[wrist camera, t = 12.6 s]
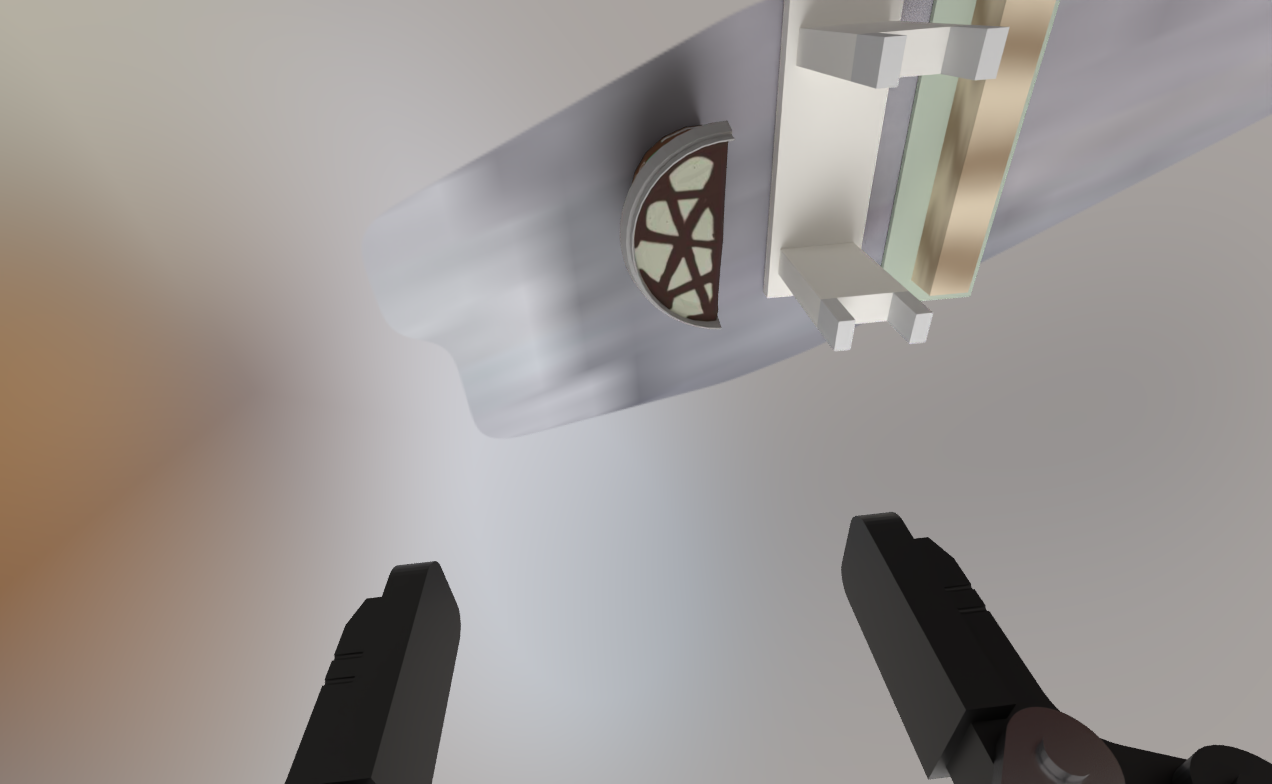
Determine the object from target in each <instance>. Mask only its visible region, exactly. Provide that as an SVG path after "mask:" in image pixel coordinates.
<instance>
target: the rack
mask: <svg viewBox="0 0 1272 784" xmlns="http://www.w3.org/2000/svg"><path fill="white" fill-rule="evenodd" d="M903 3H904V0H784V10H783V24H782V38H781V52H780V66H779V79H778V93H777V107H776V121H775V135H774V149H773V163H772V177H771V191H770V205H769V219H768V233H767V247H766V261H765V275H764V289H763V292H764V294H765V295H766V297H767V298H775V297H786V296H794V297H795V298H796V299H797V301H798V302H799V304H800V305H801V306H802V308H803V309H804V310H805V312H806V313H807V315H808V316H809V317H810V319H811V320H812V322H813V323H814V324H815V326H816V327H817V328H818V330H819V331H820V333H821V334H822V335H823V337H824V338H825V339H826V341H827V342H828V344H829V345H830V346H831V348H832V349H833V351H841V350H850V349H851V343H852V338H853V332H854V327H855V324H860V323H870V322H881V321H888V323H889V324H890V325H891V326H892V327H893V328H894V329H895V330H896V331H897V332H898V333H899V334H900V335H901V336H902V337H903V338H904V339H905V340H906V341H907V342H908V343H909V344H913V343H924V342H926V338H927V334H928V331H929V327H930V323H931V319H932V315H933V312H932V311H931V310H930V309H928V308H927V307H926V306H925V305H924V304H923V303H922V302H921V301H919V300H918V299H917V298H916V297H915V296H914V295H913V294H911V293H910V292H909V291H908V290H907V289H906V288H905V287H904V286H902V285H901V284H900V283H899V282H898V281H897V280H896V279H894V278H893V277H892V276H891V275H890V274H889V273H888V272H886V271H885V270H884V269H883V268H882V267H881V266H880V265H879V264H877V263H876V262H875V261H874V260H873V259H872V258H871V257H869V256H868V255H867V254H866V253H865V252H864V251H863V250H861V246H862V241H863V235H864V229H865V223H866V217H867V212H868V206H869V200H870V194H871V188H872V183H873V177H874V171H875V165H876V159H877V154H878V148H879V142H880V136H881V130H882V125H883V119H884V113H885V107H886V101H887V96H888V90H889V88H891V87H898V83H899V77H909V76H921V75H933V74H944V75H949V76H954V77H959V78H964V79H970V80H986V79H996V76H997V72H998V69H999V65H1000V61H1001V58H1002V54H1003V50H1004V46H1005V43H1006V39H1007V35H1008V31H1009V28H1010V27H1001V26H982V25H963V24H943V23H924V22H905V21H900V20H901V14H902V9H903Z"/></svg>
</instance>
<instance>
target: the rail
mask: <svg viewBox="0 0 1272 784" xmlns="http://www.w3.org/2000/svg"><path fill="white" fill-rule="evenodd" d="M1055 2H1056V0H977V1H976V5H975V9H974V14H973V18H972V22H971V25H982V26H1001V27H1010V28H1009V31H1008V35H1007V39H1006V43H1005V46H1004V50H1003V54H1002V58H1001V61H1000V65H999V69H998V72H997V76H996V79H986V80H970V79H964V78H958V82H957V86H956V91H955V95H954V99H953V103H952V108H951V112H950V116H949V120H948V125H947V129H946V133H945V138H944V142H943V146H942V150H941V155H940V159H939V163H938V167H937V172H936V176H935V180H934V184H933V189H932V193H931V197H930V202H929V206H928V210H927V214H926V219H925V223H924V227H923V231H922V236H921V240H920V244H919V248H918V253H917V257H916V261H915V266H914V270H913V274H912V278H911V281H913V282H914V283H915V284H916V285H917V286H919V287H920V288H921V289H922V290H923V291H924V292H926V293H927V294H928V295H929V296H935V295H946V294H956V293H967V292H968V291H969V288H970V284H971V281H972V278H973V274H974V271H975V268H976V264H977V261H978V258H979V254H980V251H981V248H982V244H983V241H984V238H985V234H986V231H987V228H988V225H989V221H990V218H991V215H992V211H993V208H994V205H995V201H996V198H997V195H998V191H999V188H1000V185H1001V181H1002V178H1003V175H1004V171H1005V168H1006V165H1007V161H1008V158H1009V155H1010V151H1011V148H1012V145H1013V141H1014V138H1015V135H1016V132H1017V128H1018V125H1019V122H1020V118H1021V115H1022V112H1023V108H1024V105H1025V102H1026V98H1027V95H1028V92H1029V88H1030V85H1031V82H1032V78H1033V75H1034V72H1035V68H1036V65H1037V62H1038V58H1039V55H1040V52H1041V49H1042V45H1043V42H1044V39H1045V35H1046V32H1047V29H1048V25H1049V22H1050V19H1051V15H1052V12H1053V9H1054V5H1055Z"/></svg>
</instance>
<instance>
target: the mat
mask: <svg viewBox="0 0 1272 784" xmlns="http://www.w3.org/2000/svg"><path fill="white" fill-rule="evenodd" d="M976 1H977V0H934V1H933V6H932V11H931V17H930V22H929V23H943V24H963V25H971V22H972V18H973V14H974V9H975V5H976ZM1059 2H1060V0H1056V2H1055V5H1054V9H1053V12H1052V15H1051V19H1050V22H1049V25H1048V29H1047V32H1046V35H1045V39H1044V42H1043V45H1042V49H1041V52H1040V55H1039V58H1038V62H1037V65H1036V68H1035V72H1034V75H1033V78H1032V82H1031V85H1030V88H1029V92H1028V95H1027V98H1026V102H1025V105H1024V108H1023V112H1022V115H1021V118H1020V122H1019V125H1018V128H1017V132H1016V135H1015V138H1014V141H1013V145H1012V148H1011V151H1010V155H1009V158H1008V161H1007V165H1006V168H1005V171H1004V175H1003V178H1002V181H1001V185H1000V188H999V191H998V195H997V198H996V201H995V205H994V208H993V211H992V215H991V218H990V221H989V225H988V228H987V231H986V234H985V238H984V241H983V244H982V248H981V251H980V254H979V258H978V261H977V264H976V268H975V271H974V274H973V278H972V281H971V284H970V288H969V291H968V292H967V293H956V294H946V295H935V296H929V295H928V294H927V293H926V292H924V291H923V290H922V289H921V288H920V287H919V286H917V285H916V284H915V283H914V282H913V281H911V278H912V274H913V270H914V266H915V261H916V257H917V253H918V248H919V244H920V240H921V236H922V231H923V227H924V223H925V219H926V214H927V210H928V206H929V202H930V197H931V193H932V189H933V184H934V180H935V176H936V172H937V167H938V163H939V159H940V155H941V150H942V146H943V142H944V138H945V133H946V129H947V125H948V120H949V116H950V112H951V108H952V103H953V99H954V95H955V91H956V86H957V82H958V78H959V77H954V76H949V75H944V74H933V75H921V76H919V77H918V82H917V87H916V93H915V98H914V103H913V108H912V113H911V118H910V123H909V128H908V133H907V138H906V143H905V148H904V153H903V158H902V163H901V169H900V174H899V179H898V184H897V189H896V194H895V199H894V204H893V209H892V214H891V219H890V224H889V229H888V234H887V239H886V245H885V250H884V255H883V260H882V265H881V267H882V268H883V269H884V270H885V271H886V272H888V273H889V274H890V275H891V276H892V277H893V278H894V279H896V280H897V281H898V282H899V283H900V284H901V285H902V286H904V287H905V288H906V289H907V290H908V291H909V292H910V293H911V294H913V295H914V296H915V297H916V298H917V299H918V300H919V301H928V300H939V299H949V298H960V297H970V295H971V292H972V288H973V285H974V282H975V279H976V275H977V272H978V269H979V266H980V262H981V259H982V256H983V252H984V249H985V246H986V243H987V239H988V236H989V233H990V229H991V226H992V223H993V220H994V216H995V213H996V210H997V206H998V203H999V200H1000V196H1001V193H1002V190H1003V187H1004V183H1005V180H1006V177H1007V173H1008V170H1009V167H1010V164H1011V160H1012V157H1013V154H1014V150H1015V147H1016V144H1017V141H1018V137H1019V134H1020V131H1021V127H1022V124H1023V121H1024V117H1025V114H1026V111H1027V108H1028V104H1029V101H1030V98H1031V94H1032V91H1033V88H1034V85H1035V81H1036V78H1037V75H1038V71H1039V68H1040V65H1041V62H1042V58H1043V55H1044V52H1045V48H1046V45H1047V42H1048V38H1049V35H1050V32H1051V29H1052V25H1053V22H1054V19H1055V15H1056V12H1057V9H1058V6H1059Z"/></svg>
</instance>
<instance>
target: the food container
mask: <svg viewBox="0 0 1272 784" xmlns="http://www.w3.org/2000/svg"><path fill="white" fill-rule="evenodd" d="M733 140H735V138H734V137H733V136H732V129H731V127H730V125H729V123H728V121H722V122H715V123H709V124H706V125H703V126H702V125H697V126H690V127H684V128H682V129H679V130H677V131H675V132H673V133H671V134H669V135H666V136H664V137H663V138H661V139H660V140H659V141H658V142H657V143H656V144H655V145H654V146H653V147H652V148H650V149H649V150H648V151H647V152H646V153H645V155H644V157H643V159H642V160H641V162H640V164H639V166H638V167H637V169H636V171H635V173H634V177H633V181H632V185H631V187H630V189H629V191H628V194H627V197H626V200H625V202H624V205H623V210H622V216H621V221H620V242H621V250H622V255H623V258H624V262H625V265H626V268H627V270H628V272H629V274H630V276H631V278H632V280H633V281H634V283H635V284H636V285H637V287H638V288H639V289H640V291H641V292H642V293H643V295H644V296H645V297H646V298H647V299H648V300H649V301H650V302H651V303H652V304H653V305H654V306H655V307H656V308H657V309H659V310H660V311H661V312H663V313H664V314H666V315H667V316H669V317H671V318H673V319H675V320H677V321H679V322H682V323H685V324H688V325H691V326H695V327H700V328H706V329H721V325H720V322H719V319H718V316H717V313H718V291H719V277H720V265H721V255H722V244H723V223H724V201H725V184H726V168H727V150H728V141H733Z"/></svg>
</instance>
